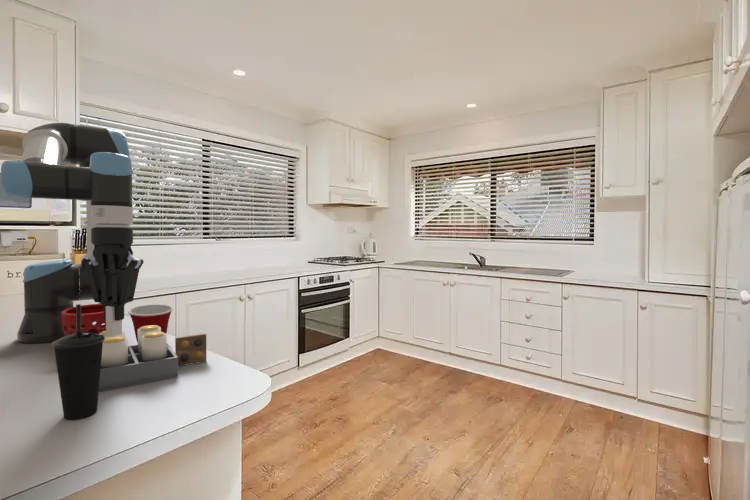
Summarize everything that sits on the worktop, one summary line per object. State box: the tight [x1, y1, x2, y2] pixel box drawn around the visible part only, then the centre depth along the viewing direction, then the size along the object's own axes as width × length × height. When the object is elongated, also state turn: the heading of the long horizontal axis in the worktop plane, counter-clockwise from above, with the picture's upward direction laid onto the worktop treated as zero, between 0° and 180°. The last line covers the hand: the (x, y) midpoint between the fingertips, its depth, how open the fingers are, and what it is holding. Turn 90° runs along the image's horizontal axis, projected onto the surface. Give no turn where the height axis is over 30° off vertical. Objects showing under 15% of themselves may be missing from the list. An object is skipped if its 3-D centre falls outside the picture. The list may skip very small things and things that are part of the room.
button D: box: [142, 332, 168, 361], centre depth 91 cm, size 5×5×5 cm
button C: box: [101, 336, 129, 367], centre depth 87 cm, size 5×5×5 cm
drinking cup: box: [51, 304, 105, 421], centre depth 72 cm, size 8×8×20 cm
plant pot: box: [62, 303, 106, 336], centre depth 109 cm, size 13×13×12 cm
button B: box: [137, 325, 161, 352], centre depth 98 cm, size 5×5×5 cm
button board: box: [99, 343, 179, 392], centre depth 92 cm, size 16×16×4 cm
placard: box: [174, 333, 207, 367], centre depth 100 cm, size 1×7×7 cm, turn 127°
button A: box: [99, 330, 126, 339], centre depth 93 cm, size 5×5×5 cm
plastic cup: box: [127, 303, 174, 344], centre depth 109 cm, size 11×11×12 cm
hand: (114, 334), depth 87 cm, fingers closed
